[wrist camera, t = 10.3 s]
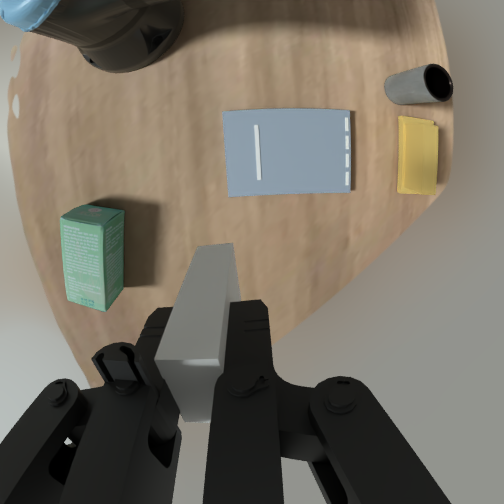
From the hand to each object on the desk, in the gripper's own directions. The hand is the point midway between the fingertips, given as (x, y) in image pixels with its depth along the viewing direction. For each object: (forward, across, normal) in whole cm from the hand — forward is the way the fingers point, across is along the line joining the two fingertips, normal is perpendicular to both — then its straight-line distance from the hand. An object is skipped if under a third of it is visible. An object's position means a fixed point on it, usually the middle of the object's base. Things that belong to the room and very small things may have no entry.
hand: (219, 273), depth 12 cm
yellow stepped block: (+26, +25, +2) cm, 36 cm away
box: (+26, -22, -7) cm, 35 cm away
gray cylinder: (+26, +23, +12) cm, 37 cm away
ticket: (+26, +7, +3) cm, 27 cm away
